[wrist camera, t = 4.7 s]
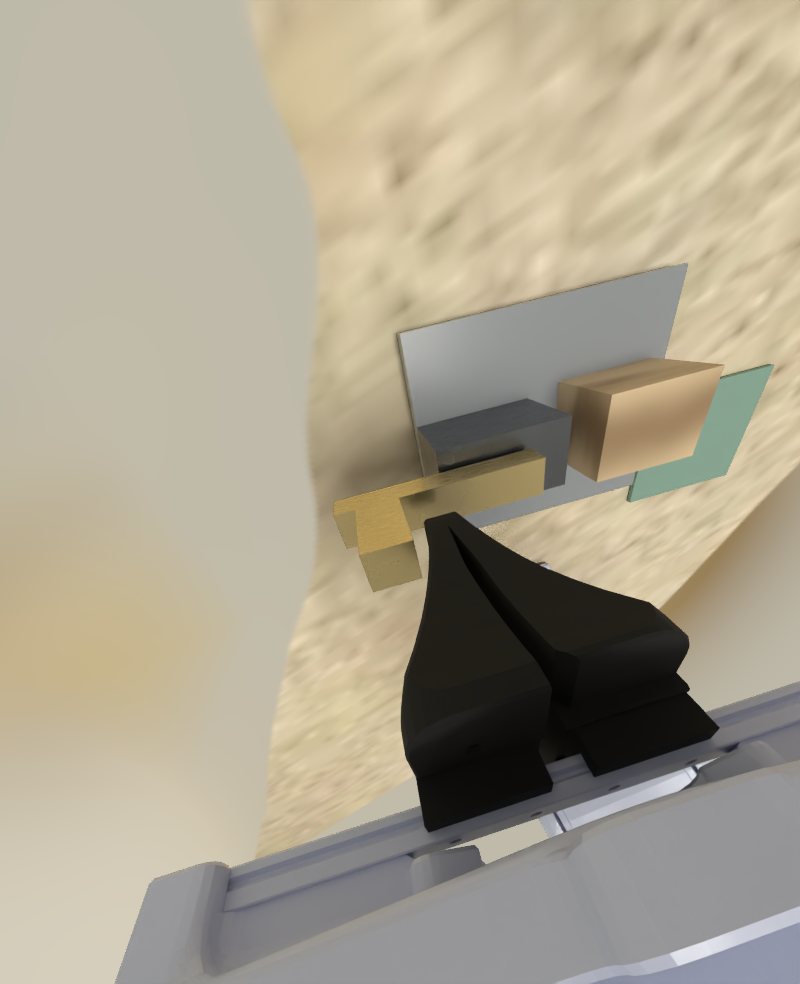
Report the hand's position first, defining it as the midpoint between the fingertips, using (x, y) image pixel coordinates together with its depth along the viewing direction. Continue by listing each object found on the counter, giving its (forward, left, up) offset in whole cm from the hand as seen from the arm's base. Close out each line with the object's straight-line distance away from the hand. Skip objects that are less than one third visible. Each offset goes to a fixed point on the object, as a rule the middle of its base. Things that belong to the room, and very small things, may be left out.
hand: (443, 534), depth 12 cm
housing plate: (0, -9, -9) cm, 12 cm away
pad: (-5, -22, -9) cm, 25 cm away
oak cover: (0, -13, -8) cm, 15 cm away
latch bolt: (0, -1, -3) cm, 3 cm away
